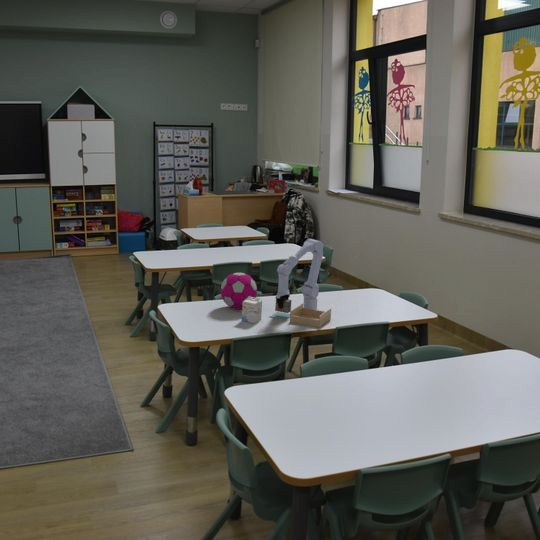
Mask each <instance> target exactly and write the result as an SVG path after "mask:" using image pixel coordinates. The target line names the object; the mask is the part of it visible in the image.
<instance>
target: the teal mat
mask: <svg viewBox="0 0 540 540" xmlns="http://www.w3.org/2000/svg"><path fill="white" fill-rule="evenodd" d="M269 318H272V319H275V318H276V319H281V320H286V321H287V320H290V313H284V312H279V311H276V312H275V313H273V314H272V315H270V316H269Z"/></svg>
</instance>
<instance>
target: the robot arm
mask: <svg viewBox="0 0 540 540" xmlns="http://www.w3.org/2000/svg"><path fill="white" fill-rule="evenodd" d="M308 252H309V253H310V252H311V254H312V255H313V256H312V261H311V265H310V268H309V273H308V278H307V281H305V282H303V285H302V287H301V294H302V295H303V308H307V309H313V310H319V309H318V298H317V297H318V296H319V292H320V291H319V287H320V286H319V284H318V283H317V282H318V278H319V273H320V269H321V264H322V261H323V256H324V243H323V241H321V240H316V239H314V238H307V239H306V240H305V241H304V242H303V245H302V246H301V247H300V249H299V250H298V251H296V253H295V254H294V255H290V256H289V257H288V258H287V259H286V260H285V261H283V263H282V264H279V265H278V266H277V269H276V272H277V275H278V285H277V286H278V289H277V294H276V296H275V301H276V300H277V302H278V307H279V308H280V309H282V308H283V303H284V300H285V299H289V298H290V296H291V293H290V289H289V278H290V277H289V276H290V275H291V273H292V270H293V268H295V266H296V265H297V264H298V263H299V260H300V259H301V258H303V256H305V255H306V254H307V253H308Z"/></svg>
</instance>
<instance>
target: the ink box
mask: <svg viewBox="0 0 540 540" xmlns="http://www.w3.org/2000/svg"><path fill="white" fill-rule="evenodd" d="M252 298H254V299H252ZM262 309H263V300H260V298H259V297H256V298H255V297H250V296H248V298H247V300H245V301H243V308H242V309H241V310H242V311H241V312H242V313H241V321H242V322H247V323H250V324H251V323H252V324H256V323H259V321H261V320H262V312H263V311H262Z"/></svg>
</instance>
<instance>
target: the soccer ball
mask: <svg viewBox="0 0 540 540" xmlns="http://www.w3.org/2000/svg"><path fill="white" fill-rule="evenodd" d="M257 293H258V286H257V283H256V281H255V280H254V279H253V278H252V277H251V276H250V275H249V274H246V273H244V272H234V273H231V274H229V275H228V276H226V277H225V278H224V280H223V281H222V283H221V286H220V296H221V298H222V299H221V300H222V301H223V302H224V303H225V304H226V305H227V306H228V307H230V308H232V309H234V310H235V309H237V310H242V308H243V301H245V300H247V298H248V296H250V297H255V298H257V295H258V294H257ZM252 299H254V298H252Z"/></svg>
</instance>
